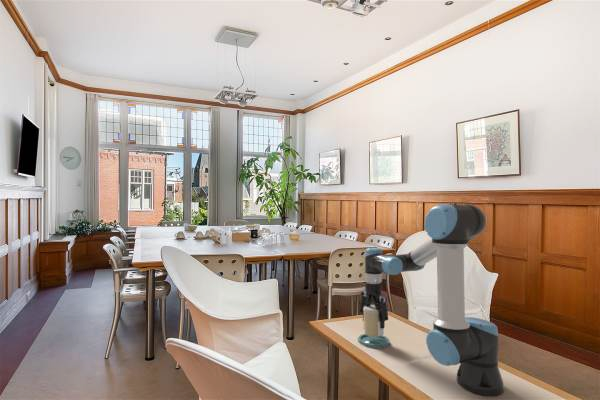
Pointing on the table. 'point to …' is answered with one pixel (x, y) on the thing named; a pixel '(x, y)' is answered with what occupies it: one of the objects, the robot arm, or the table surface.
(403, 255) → the robot arm
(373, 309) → the coffee cup
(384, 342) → the saucer
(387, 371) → the table surface
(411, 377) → the table surface
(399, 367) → the table surface
